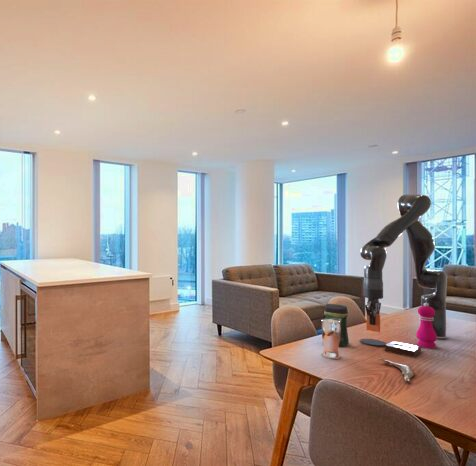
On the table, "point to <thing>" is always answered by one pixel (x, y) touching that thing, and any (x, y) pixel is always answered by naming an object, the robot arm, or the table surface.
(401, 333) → the table surface
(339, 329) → the beer glass
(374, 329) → the orange rectangular block
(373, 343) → the coaster
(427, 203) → the robot arm
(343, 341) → the coffee jar
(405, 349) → the holder
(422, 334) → the pepper mill
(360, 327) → the table surface
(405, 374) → the jawbone
